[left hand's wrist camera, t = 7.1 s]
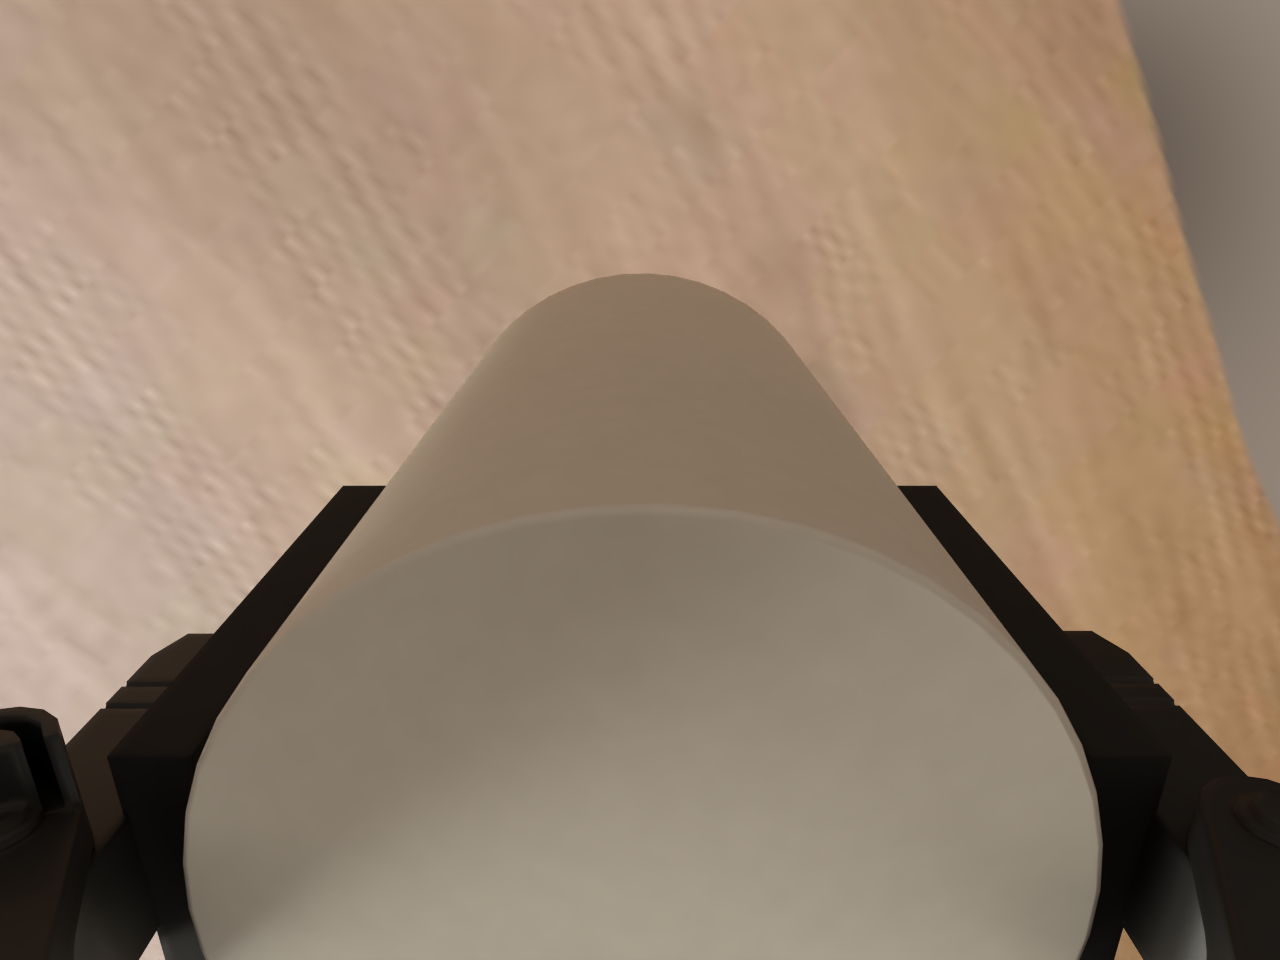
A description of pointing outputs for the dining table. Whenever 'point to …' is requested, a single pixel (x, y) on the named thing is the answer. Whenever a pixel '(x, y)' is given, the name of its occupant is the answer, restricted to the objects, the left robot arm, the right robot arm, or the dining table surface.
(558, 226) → the dining table surface
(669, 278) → the canister
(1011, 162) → the dining table surface
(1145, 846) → the left robot arm
